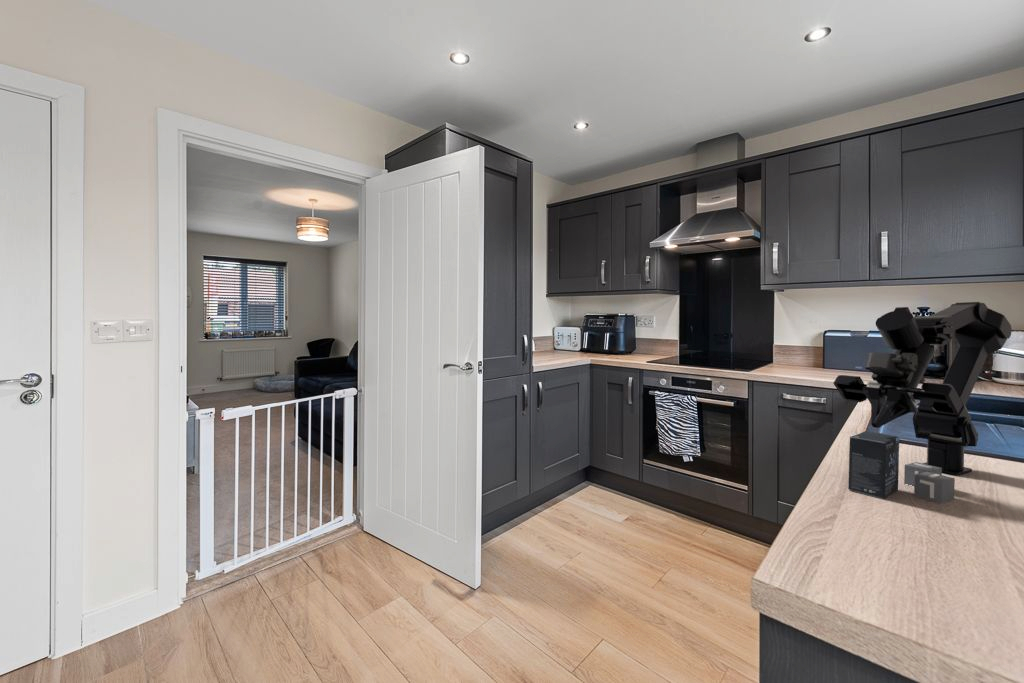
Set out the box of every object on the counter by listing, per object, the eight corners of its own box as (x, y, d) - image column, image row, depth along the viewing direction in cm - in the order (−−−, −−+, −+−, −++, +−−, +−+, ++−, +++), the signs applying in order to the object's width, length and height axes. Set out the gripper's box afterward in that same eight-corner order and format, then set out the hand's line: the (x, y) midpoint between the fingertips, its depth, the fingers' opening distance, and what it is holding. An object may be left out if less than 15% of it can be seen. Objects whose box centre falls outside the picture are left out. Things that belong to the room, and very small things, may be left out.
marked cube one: (915, 481, 89) (916, 461, 88) (941, 488, 85) (941, 466, 85) (903, 484, 87) (904, 463, 87) (929, 491, 83) (929, 469, 83)
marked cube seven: (926, 492, 83) (927, 470, 83) (954, 500, 79) (954, 477, 79) (913, 495, 82) (913, 473, 81) (941, 504, 78) (941, 480, 78)
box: (884, 500, 80) (885, 442, 79) (847, 490, 84) (848, 436, 84) (899, 490, 84) (900, 435, 84) (863, 482, 89) (864, 430, 88)
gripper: (839, 337, 94) (805, 392, 90) (955, 339, 77) (920, 407, 73) (860, 371, 97) (829, 426, 93) (975, 380, 80) (943, 448, 76)
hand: (874, 426), depth 84 cm, fingers closed
